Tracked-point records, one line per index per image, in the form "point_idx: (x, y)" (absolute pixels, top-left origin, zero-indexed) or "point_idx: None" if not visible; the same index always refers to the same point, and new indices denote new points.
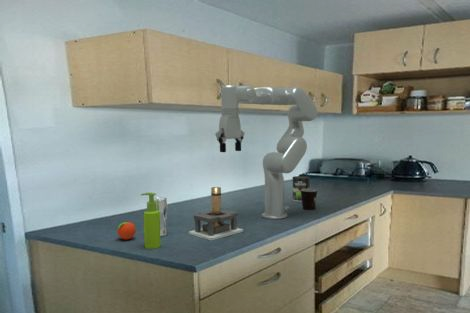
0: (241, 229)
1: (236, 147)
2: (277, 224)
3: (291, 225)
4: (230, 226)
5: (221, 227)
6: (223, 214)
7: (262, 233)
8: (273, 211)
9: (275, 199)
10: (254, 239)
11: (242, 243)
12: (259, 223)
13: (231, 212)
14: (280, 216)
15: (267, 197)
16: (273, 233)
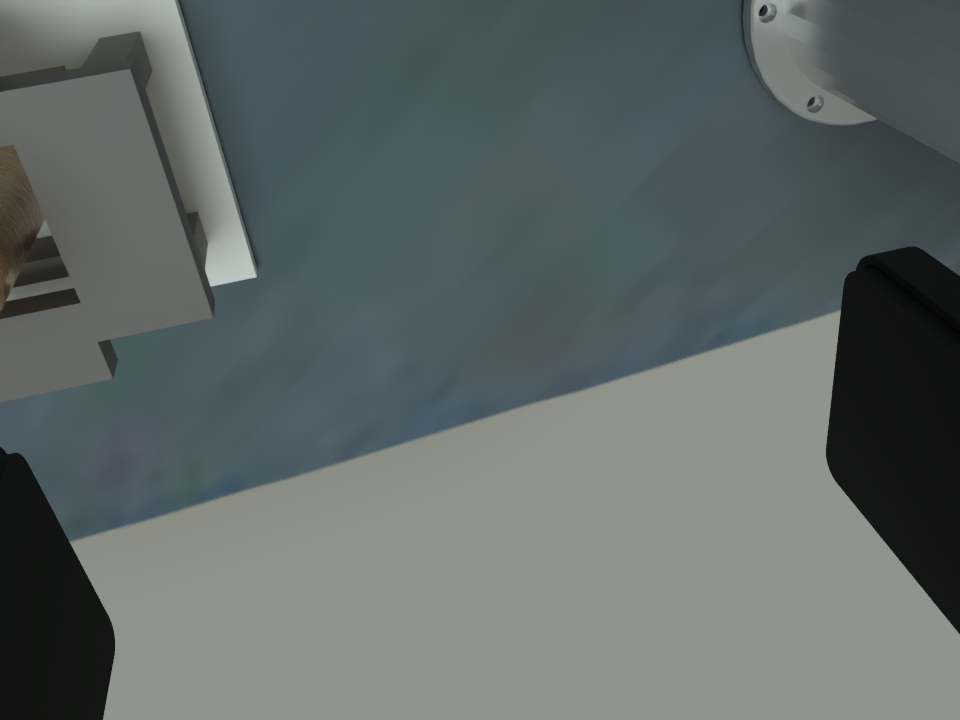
0: (241, 274)
1: (919, 394)
2: (639, 242)
3: (689, 323)
4: (206, 133)
5: (16, 282)
6: (64, 251)
7: (359, 381)
8: (819, 77)
9: (905, 131)
10: (215, 464)
11: (86, 495)
12: (553, 125)
13: (160, 278)
14: (824, 116)
15: (896, 44)
16: (424, 417)
